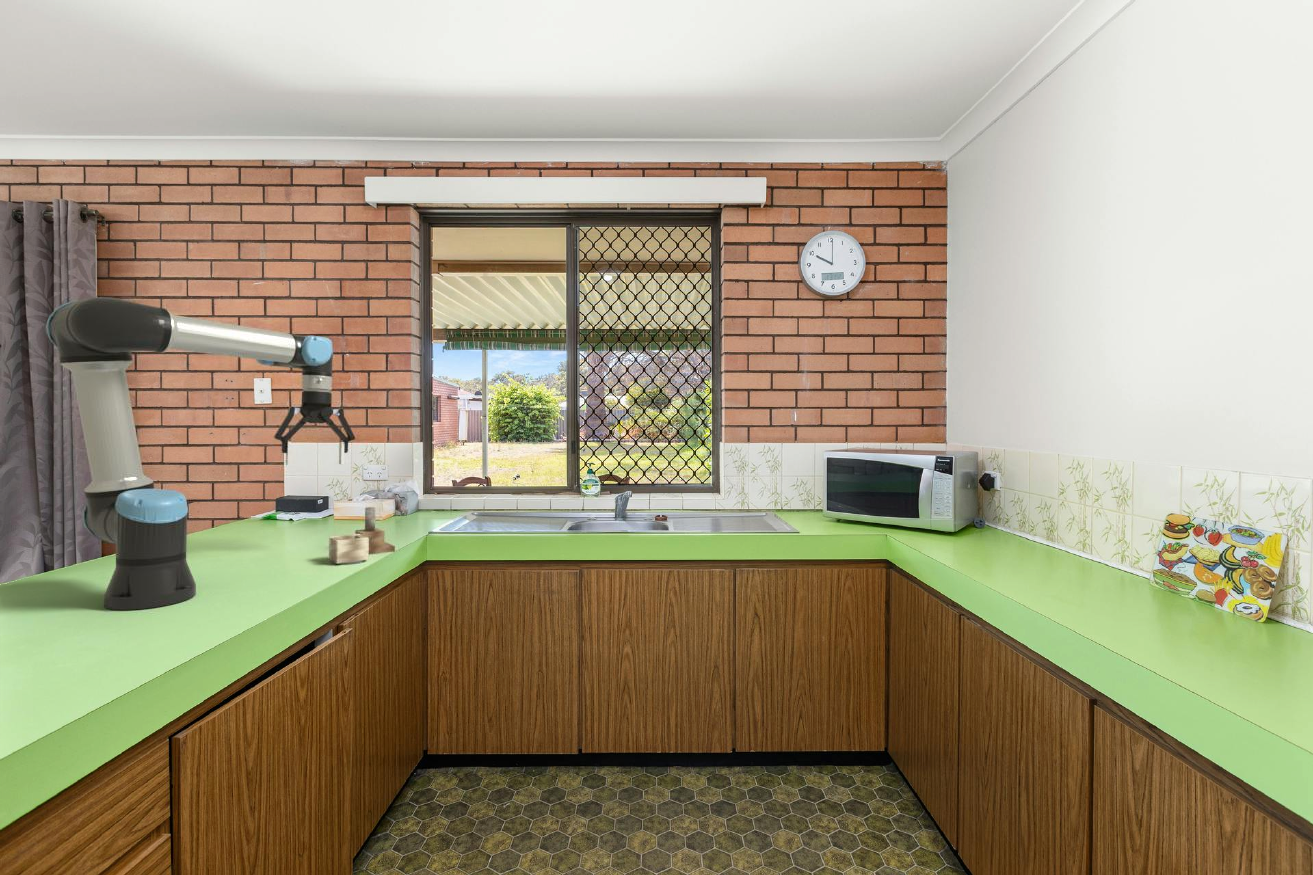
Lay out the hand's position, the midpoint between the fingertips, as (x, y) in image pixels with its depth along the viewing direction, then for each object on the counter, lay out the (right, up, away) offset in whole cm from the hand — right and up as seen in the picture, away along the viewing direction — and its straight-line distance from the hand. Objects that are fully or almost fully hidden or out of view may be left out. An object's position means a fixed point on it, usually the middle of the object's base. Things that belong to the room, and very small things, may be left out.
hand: (315, 464), depth 172 cm
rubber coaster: (+12, -27, -4) cm, 30 cm away
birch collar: (+12, -26, -5) cm, 29 cm away
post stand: (+11, -27, +10) cm, 30 cm away
